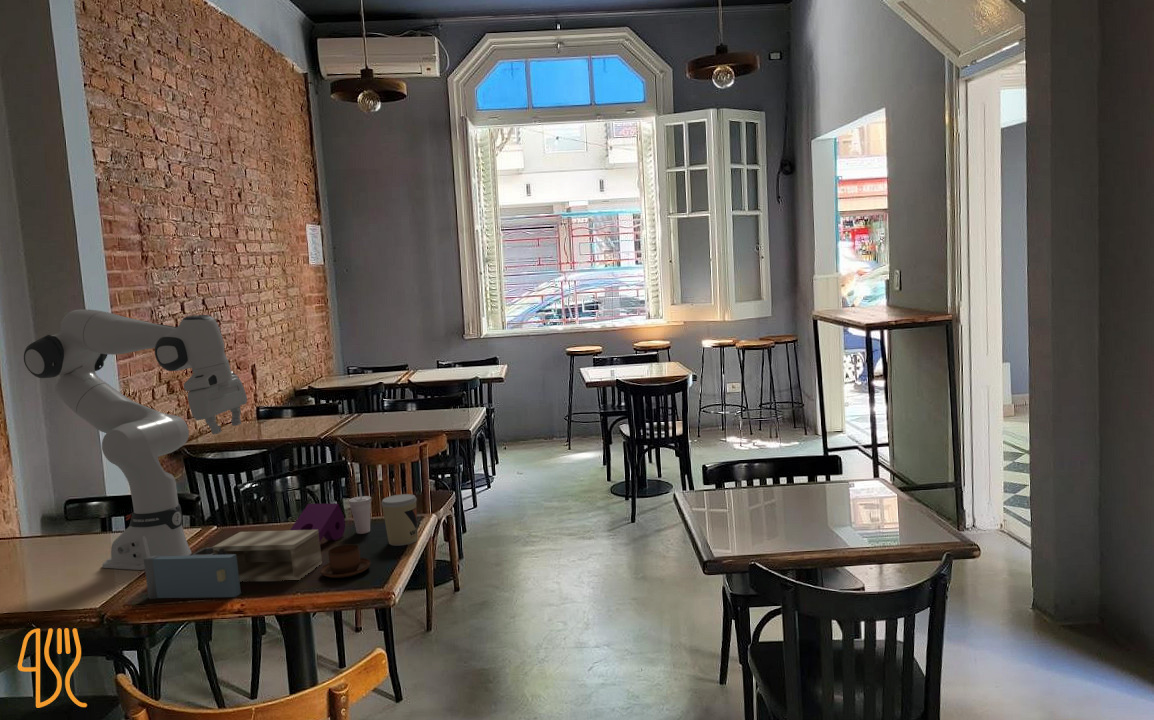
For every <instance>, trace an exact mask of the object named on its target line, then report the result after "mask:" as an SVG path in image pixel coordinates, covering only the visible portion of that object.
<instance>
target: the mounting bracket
mask: <svg viewBox="0 0 1154 720" xmlns="http://www.w3.org/2000/svg"><path fill="white" fill-rule="evenodd" d="M290 530H318V532H319V541H320V542H321V541H322V539H323V538H324V539H325V540H327V541H338V540H339V538H340V539H341V538H342V537H343V535H344V533H345V531H346V518H345V515H344V514H343V512H342V509H341V507H340V505H339V503H307V505H306V506H305V508H304V509H303V511H302V512H301V513H300V515H299V517H298V518H297V519H296V521H295V522H294V524H293V525H292V527H291V528H290ZM337 539H338V540H337Z"/></svg>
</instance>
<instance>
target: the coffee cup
mask: <svg viewBox="0 0 1154 720" xmlns="http://www.w3.org/2000/svg"><path fill="white" fill-rule="evenodd" d="M417 500H418V498H417V497H416V495H414V494H411V493H402V494H394V495H390V496H386V497H385V498H383V499H382V500H381V506H382V507H381V508H382V512H383V518H384V523H385V529H386V530H385V531H386V535H387V540H388V544H389V545H391V546H400V547H401V546H407V545H410V544H414V543H417V541H418V515H417V514H418V513H417V512H418V511H417V509H418V508H417Z"/></svg>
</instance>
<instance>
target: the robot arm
mask: <svg viewBox="0 0 1154 720" xmlns="http://www.w3.org/2000/svg"><path fill="white" fill-rule="evenodd" d="M150 349H154V355H155V359H156V361H157V363H158V364H159V366H161V368H162V369H164V370H166V371H168V372H178V371H183V370H187V369H191V370H192V374H191V376H190V377H189V378H188V379H187V380H186V381H184V383H183V388H184V391H185V392H187V401H188V405H189V409H190V412H191V415H192V418H194V420H196V421H202V420H204V421H205V423H206V425H207V426H208V427H209V428H210V431H211V434H212V435H217V434H220V433H222V428H221V425H219V424H218V422H217V421H216V420H217V415H220V414H223V413H225V412H228V411H230V413H231V415H232V416H231V418H230V422H231V425H232V426H233V427H236V426H238V425H241V424H242V421H241V411H242V410H241V406H244V405H246V404H247V403H248V397H247V394H246V390H245V387H244V385H243V382H242V381H241V378H239V377H238V375H237V374H236V373H235V372H234V371H232V369H231V366H230V363H229V362H230V361H229V359H228V357H227V356H226V353H225V343H224V339H223V335H222V332H221V329H220V327H219V324H218V322H217V321H216V319H215V318H214V316H212V315H208V314H198V315H197V314H196V315H195V314H194V315H189V316H184V317H183V318H182V319H181V321H180V323H179V324H178V326H172V325H167V324H161V323H153V322H150V321H149V322H148V321H145V320H140V319H134V318H131V317H127V316H123V315H119V314H116V313H112V312H108V311H102V310H97V309H87V308H86V309H74V310H71V311H69V312H68V313H67V314H65V316H64V317H63V318H62V320H61V322H60V331H59V332H58V333H56V334H52V335H51V334H46V335H45V336H43V337H41V338H39V339H36V340H35V341H33V342H31V343H30V344H28V345H27V346H26V348H25V349H24V352H23V362H24V365H25V367H26V369H27V370H28V371H29V373H30V374H32V375H33V376H34V377H36V378H38V379H39V378H40V379H51V378H55V377H57V376H59V378H58V379H57V382H56V385H55V391H56V395H57V396H58V397H59V398H60V400H62V402H63V403H64V404H65V405H66V406H67V407H68V408H69V409H70V410H71V411H73V412H74V413H75V414H76V415H78V416H79V417H80V418H82V419H83V420H85V421H86V422H87V423H88V424H90V426H93V427H94V428H95V429H97V430H98V431H99V432H102V433H105V435H104V436H103V438H102V440H101V441H102V442H101V450H102V453H103V456H104V457H105V458H106V460H107V461H108V462H110V463H111V464H112V465H115V466H116V467H117V468H119V469H120V470H121V472H122V473H123V474H124V476H125V478H126V480H127V482H128V485H129V489H130V494H131V499H132V500H131V501H132V507H133V511H132V512H131V513H130V514H128V515H126V516H125V521H129V520H130V522H129V526H128V527H127V528H126V529H125V530H124V531H123V532H122V533H120V534H119V536H118V537H117V538H116V539H115V540H114V541H113V542H112V543H111V548H110V557H109V558H108V559H106V560H104V562H103V563H102V568H103V569H104V568H105V569H116V570H118V569H119V570H132V571H134V570H135V571H143V570H144V571H145V566H144V558H146V557H150V556H189V555H191V554H192V550H191V548H190V546H189V543H188V541H187V539H186V538H187V537H186V534H185V531H184V528H183V513H182V507H181V504H180V503H179V499H178V491H177V484H176V478H175V476H174V475H173V474H171V473H170V472H167V471H165V469H164V468H163V467H162V465H161V463H160V460H159V457H162V456H165V455H168V454H172V453H175V451H177V450H179V449H180V448H182V447H183V446H185V445H186V443H187V441H188V440H189V436H190V429H189V426H188V424H187V423H186V421H185V420H184V418H182V417H180V416H179V415H175V414H169V413H164V412H161V411H159V410H156V409H154V408H151V407H148V406H145V405H144V404H141V403H138V402H136V401H134V400H132V399H130V398H129V397H128V396H126V395H124V394H123V393H121V392H120V391H118V390H117V389H116V388H114V387H113V386H111V385H110V384H108V383H107V382H106V381H104V380H103V379H102V378H100V377H99V376H98V375H97V373H96V372H97V371H100V370H101V369H102V368H104V365H105V361H106V360H107V358H108V355H112V356H113V355H115V356H117V355H124V354H129V353H135V352H138V351H144V350H150Z"/></svg>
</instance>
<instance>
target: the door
mask: <svg viewBox="0 0 1154 720" xmlns="http://www.w3.org/2000/svg"><path fill="white" fill-rule="evenodd" d="M144 566H145V569H144V572H145V580H146V586H147V587H146V588H147V594H148V599H149V600H157V599H177V598H178V599H188V598H189V599H191V598H194V599H195V598H196V599H197V598H198V599H199V598H236V597H238V596H239V595H241V594H242V591H241V584H240V582H239V574H238V566H237V558H236V554H230V555H191V554H190V555H189V556H150V557H146V558H144Z"/></svg>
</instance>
